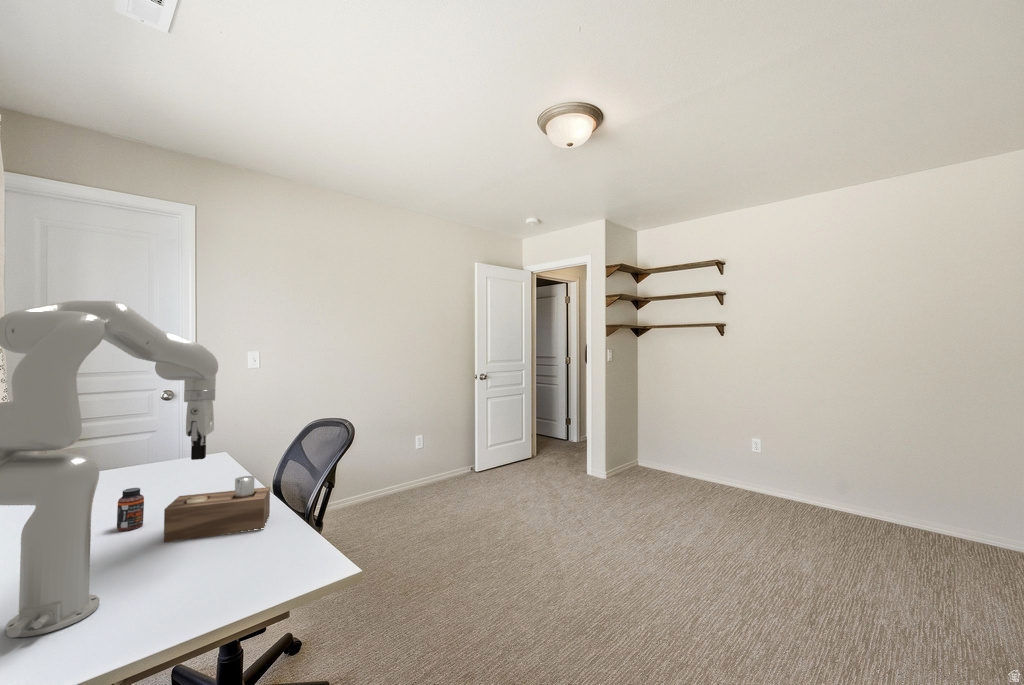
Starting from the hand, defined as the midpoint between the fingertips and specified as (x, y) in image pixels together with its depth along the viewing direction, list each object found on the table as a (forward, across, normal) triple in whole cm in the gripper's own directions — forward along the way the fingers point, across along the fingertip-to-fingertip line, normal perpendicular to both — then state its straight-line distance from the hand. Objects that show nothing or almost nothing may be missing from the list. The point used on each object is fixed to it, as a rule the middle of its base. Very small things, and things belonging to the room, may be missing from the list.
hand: (198, 458), depth 128 cm
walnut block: (+21, 0, -6) cm, 22 cm away
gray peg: (+16, 0, -12) cm, 20 cm away
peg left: (+21, 0, 0) cm, 21 cm away
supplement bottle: (+21, +10, +19) cm, 30 cm away
